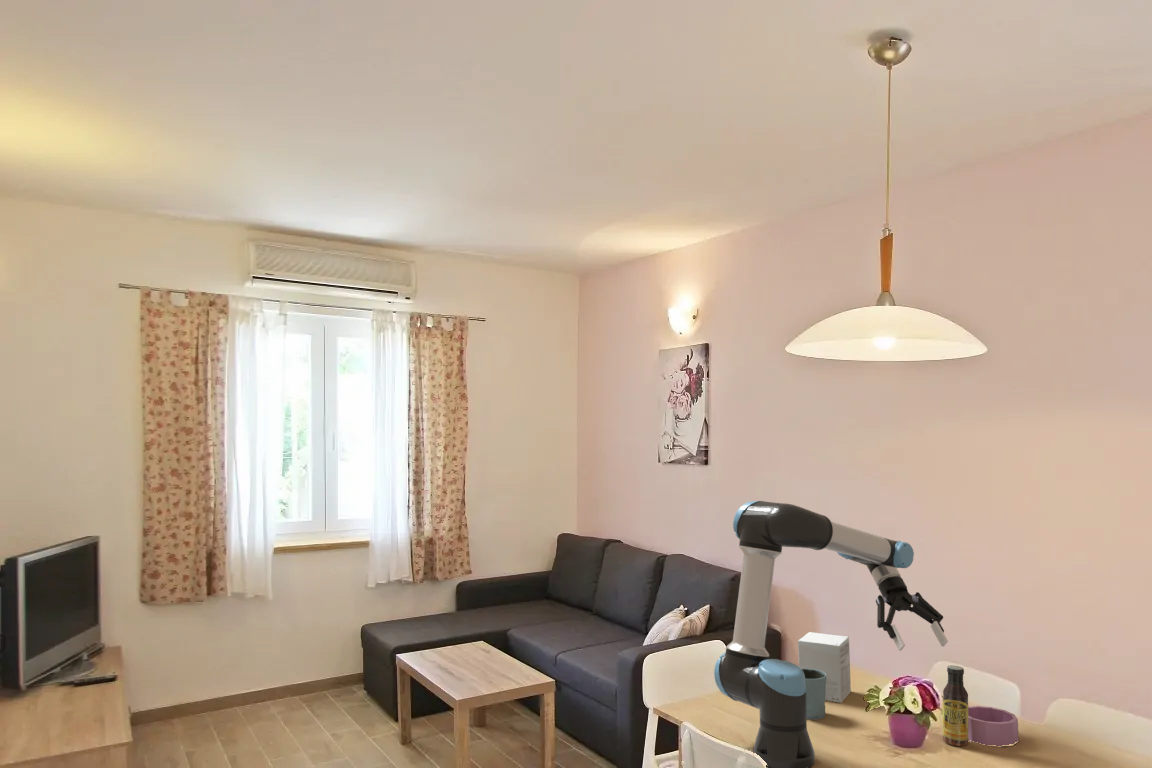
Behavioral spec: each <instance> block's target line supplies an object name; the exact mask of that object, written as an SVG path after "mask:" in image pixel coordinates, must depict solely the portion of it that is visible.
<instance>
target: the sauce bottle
mask: <svg viewBox="0 0 1152 768" xmlns="http://www.w3.org/2000/svg"><path fill="white" fill-rule="evenodd" d="M946 670H947V683H946V685H945V686H944V688H943V690H942V694H943V695H942V697H943V698H942V740H943V742H944V743H947V744H949V745H951V746H955V747H964V746H967V745H968V743H969V740H968V707H969V693H968V691H967V689H966V688H965V687H964V673H965V669H964V667H962V666H959V665H954V664H953V665H948V666H947V669H946Z"/></svg>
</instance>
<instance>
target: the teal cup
mask: <svg viewBox="0 0 1152 768" xmlns="http://www.w3.org/2000/svg"><path fill="white" fill-rule="evenodd" d="M802 671H803V672H804V675H805V683H806V715H807V720H811V719H812V721H813V720H821V719H824V718H825V716H826V700H825V696H826V693H825V692H826V673H824V672H822V671H820V670H815V669H806V668H803V669H802Z"/></svg>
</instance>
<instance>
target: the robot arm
mask: <svg viewBox="0 0 1152 768" xmlns="http://www.w3.org/2000/svg"><path fill="white" fill-rule="evenodd" d="M732 526H733V527H732V528H733V532H734V534H735V537H736V538H737V539H739V543H738V547H739V549H740V550H741V551H742V553H743V556H742V563H741V572H740V573H741V574H740V581H739V586H738V595H737V596H738V597H737V604H736V611H735V621H734V629H733V635H732V636H733V637H732V641H731V642H730V643H728V644H727V645H726V648H725V652H723V653H722V654H720V656H719V659H718V658H717V659H716V662H715V665H714V672H713V675H714V677H713V678H714V681H715V684H716V686H717V688H718V691H720V692H721V693H722V694H723V695H724V696H726V697H728V698H729V699H731V700H733V701H735V702H740V703H743V704H744V705H747V706H750V707H753V708H754V709H755V708H756V709H757V710H759V726H758V727H759V728H758V731H757V734H756V738H755V741H754V745H753V754H754V753H756V754H757V755H759V756H760V757H761V758H762V759H763V760H764V761H765V762H766V763H767V765H768V768H811V767H813V765H814V764H815V762H816V755H815V754H816V753H815V750H814V746H813V743H812V741H811V737H810V734H809V732H808V725H807V724H808V723H807V720H808V719H807V715H806V683H805V675H804V672H803V671H802V669H801V668H800V667H799V665H797V664H795V663H793V662H791V661H788V660H780V659H778V658H770V654H769V651H767V649H766V647H765V645H766V637H767V629H768V621H769V612H770V611H769V610H770V604H771V595H772V588H773V580H774V579H773V577H774V570H775V561H776V558H778V557H779V556H780V555H781V554H782V551H783V547H785V548H802V549H811V550H815V551H821V550H824V549H826V550H829V551H831V552H836V553H837V554H838V555H839V556H840V557H842V558H844V559H845V560H850V561H853V562H855V563H859V564H861V565H864V566H866V567H867V569H868V571H869V573H870V574H871V577H872V579H873V580H874V582H875V584H876V586H877V587H878V590H879V592H880V594H879V595H877V598H876V599H875V602H876V606H877V609H876V610H877V612H876V613H877V615H876V616H877V618H876V619H877V620H876V621H877V625H876V626H877V628H878V629H881V628H882V630H883V631H884V632H887V634H888V636H889V638H890V639H891V640H892V641H894V643H895V645H896V648H897V650H898V651H902V650H903V649H904V647H906V644H905V642H904V640H903V639H902V636H901V635H900V632H899V631H898V629H897V626H896V625H895V624H892V623H893V620H894V617H895V614H896V611H897V612H903V611H905V612H907V611H909V612H910V613H914V614H915V615H917V616H919V617H920V618H922V619H923V620H925V621H926V622H928V623H929V624H931V625H930V628H931V630H932V632H933V633H934V635H935V637H936V639H937V641H938V642H939V644H940V647H945V646H946V645H947V643H948V642H949V640H948V639H947V637H946V635H945V634H944V632H945V630H944V628H943V626H942V624H941V622H942V620H943V619H944V615H942V614H941V613H940V612H939V611H938V610H937V609H935V608H934V606H932V604H930V603H929V602H928V601H926V599H925V598H923V596H922V595H921V593H920V592H918V591H917V592H915V594H910V593H909V591H908V587H907V585H906V583H905V581H904V579H903V578H902V576H901V574H900V572H899V570H898V569H908V568H909V567H910V566H912V564H913V561H914V555H915V552H914V549H913V547H912V545H911V544H910V543H909V542H905V541H901V540H893V539H889V538H885V537H882V536H879V535H876V534H873V533H870V532H867V531H866V532H865V531H863V530H860V529H857V528H853V527H849V526H846V525H843V524H841V523H836V522H834V521H832V520H831V519H830V518H829V517H828V516H826V515H823V514H820V513H817V512H815V511H812V510H809V509H807V508H804V507H801V506H798V505H796V504H790V503H785V502H784V503H783V502H781V503H780V502H772V501H766V500H765V501H764V500H756V501H755V500H752V501H747V502H745V503H743V504H742V505H741V506H740V507H738V509H737V511H736V512H735V515H734V517H733V523H732ZM886 604H887V605H888V606H889V608H888V614H887V616H886V617H885V615H886V614H885V613H886V611H885V610H886V609H885V607H886V606H885V605H886Z"/></svg>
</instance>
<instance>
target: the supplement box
mask: <svg viewBox="0 0 1152 768" xmlns="http://www.w3.org/2000/svg"><path fill="white" fill-rule="evenodd" d="M797 649H798V650H797V652H798V667H800V668H801V669H803V668H806V669H815V670H820V671H822V672H824V673H826V692H825V693H826V696H825V701H826V700H827V701H828V702H832V701H833V702H832V703H839V704H840V703H842V702H843V701H844V700H845V699H846V698H847V697H848V696H849V695H850V693H851V692H852V691H851V690H852V688H851V687H852V686H851V683H852V682H851V661H850V660H851V658H850V657H851V656H850V655H851V654H850V653H851V652H850V637H849V636H846V635H845V636H844V635H835V634H829V633H828V634H827V633H820V632H815V631H814V632H812V631H809V632H807V633H806V634H805V635H804V636H802V637H801V638H800V639H798V640H797ZM827 701H826V702H827Z"/></svg>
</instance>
